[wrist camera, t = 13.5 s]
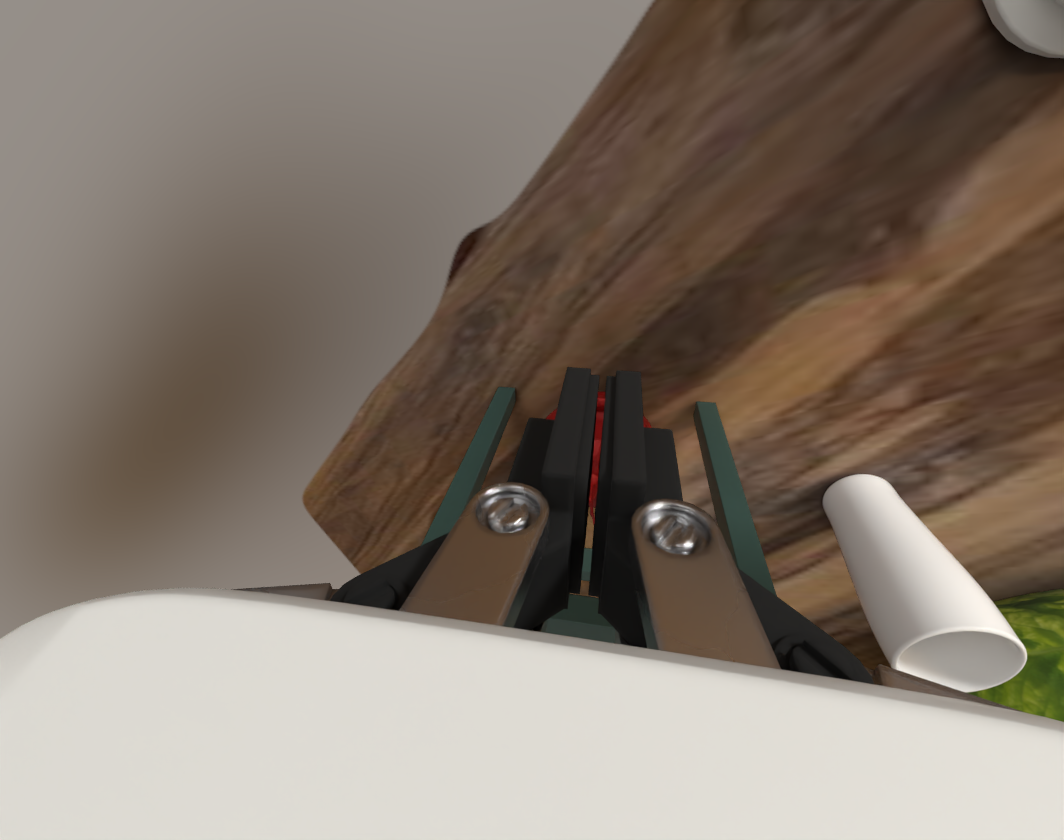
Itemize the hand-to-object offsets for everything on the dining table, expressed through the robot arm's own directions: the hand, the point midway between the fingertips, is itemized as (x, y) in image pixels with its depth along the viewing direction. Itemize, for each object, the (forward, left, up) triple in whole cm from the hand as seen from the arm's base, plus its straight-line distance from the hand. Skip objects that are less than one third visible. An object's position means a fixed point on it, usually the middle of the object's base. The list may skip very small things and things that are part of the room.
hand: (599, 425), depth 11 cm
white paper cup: (+21, +22, -25) cm, 40 cm away
